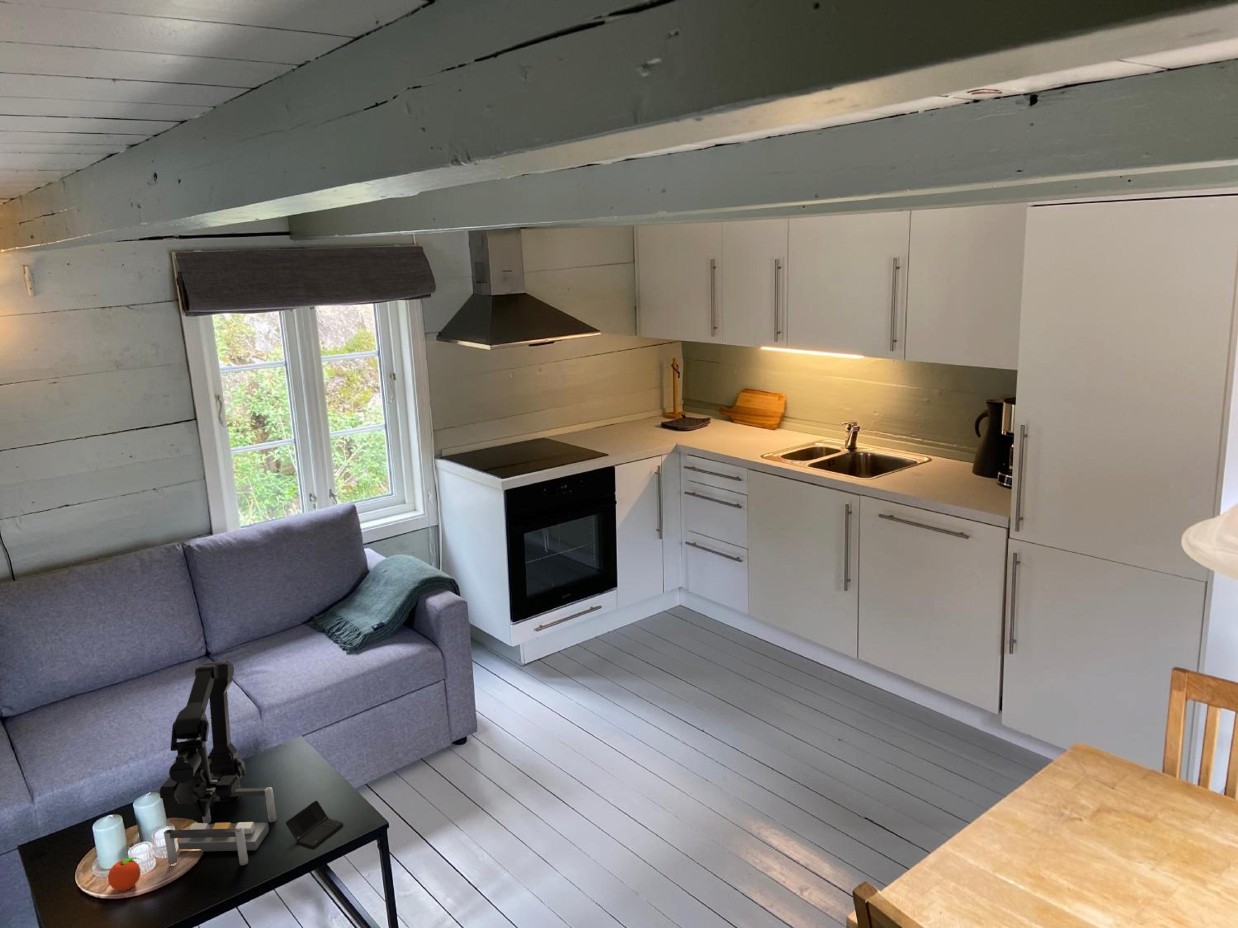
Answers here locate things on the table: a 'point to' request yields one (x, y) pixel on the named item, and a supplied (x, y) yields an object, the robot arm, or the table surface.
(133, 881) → the clementine
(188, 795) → the robot arm
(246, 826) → the paddle
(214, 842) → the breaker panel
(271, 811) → the frame
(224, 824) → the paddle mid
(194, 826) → the paddle
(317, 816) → the handheld gaming console
